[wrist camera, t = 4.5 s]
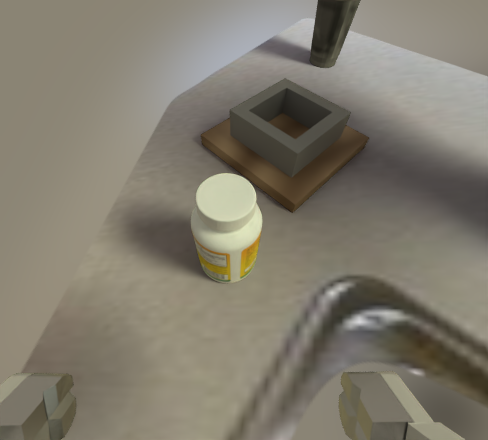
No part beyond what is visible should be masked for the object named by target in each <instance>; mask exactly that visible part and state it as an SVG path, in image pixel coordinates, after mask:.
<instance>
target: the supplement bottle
mask: <svg viewBox="0 0 488 440" xmlns="http://www.w3.org/2000/svg"><path fill="white" fill-rule="evenodd" d="M195 200H196V206H195V208H194V210H193V212H192V215H191V229H192V233H193V237H194V241H195V245H196V248H197V252H198V256H199V259H200V263H201V266H202V268H203V270H204V272H205V273H206V274H207V275H208V276H209V277H210V278H212V279H213V280H215V281H218V282H221V283H234V282H237V281H240V280H242V279H244V278H245V277H246V276H247V275H248V274H249V273H250V272H251V271H252V269H253V267H254V265H255V262H256V257H257V251H258V246H259V240H260V235H261V229H262V214H261V211H260V209H259V207H258V205H257V204H256V192H255V189H254V187H253V186H252V184H251V183H250V182H249V181H248V180H246V179H245V178H243V177H241V176H239V175H236V174H230V173H222V174H217V175H213V176H211V177H209V178H207V179H206V180H205V181H203V182H202V183H201V184H200V186H199V187H198V189H197V192H196V196H195Z"/></svg>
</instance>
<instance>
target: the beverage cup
mask: <svg viewBox="0 0 488 440" xmlns="http://www.w3.org/2000/svg"><path fill="white" fill-rule="evenodd" d="M359 3H360V0H318V5H317V12H316V18H315V25H314V32H313V39H312V46H311V57H310V62H311V63H312V64H313V65H315V66H317V67H322V68H329V67H332V66H334V65H335V62H336V60H337V58H338V55H339V54H340V51H341V48H342V46H343V43H344V41H345V38H346V36H347V33H348V31H349V28H350V26H351V23H352V20H353V18H354V15H355V13H356V10H357V8H358V5H359Z"/></svg>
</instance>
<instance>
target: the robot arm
mask: <svg viewBox="0 0 488 440" xmlns="http://www.w3.org/2000/svg"><path fill="white" fill-rule="evenodd" d="M73 385H74V384H73V379H72V375H69V374H54V373H34V374H31V373H16V374H14V375H12V376H10V377H9V378H7V379H6V380H5V381H4V382H3V383H2V384H1V385H0V440H61V439H62V438H64V437H65V435H66V433H67V432H68V430H69V429H70V427H71V425H72V422H73V419H74V416H75V414H76V398H75V396H74V395H73V394H72V393H71V392H70V389H71V388H72V387H73ZM341 385H342V387H343V389H344V391H343V392H342V393H341V394H340V395H339V412H340V418H341V422H342V426H343V428H344V431H345V433H346V435H347V436H348V437H349V438H351V439H352V440H465V439H464V438H462V437H461V436H459V435H457V434H456V433H455V432H453V431H452V430H450V429H449V428H447V427H446V426H444V425H443V424H441V423H434V422H433V420H432V419H431V418H430V416H429V415H428V414H427V413H426V411H425V410H424V409H423V407H422V406H421V405H420V403H419V402H418V401H417V399H416V398H415V397H414V396H413V394H412V393H411V392H410V390H409V389H408V388H407V386H406V385H405V384H404V383H403V381H402V380H401V379H400V377H399V376H398V375H397V374H396V373H394V372H393V371H381V372H343V374H342V376H341Z"/></svg>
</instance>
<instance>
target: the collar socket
mask: <svg viewBox="0 0 488 440" xmlns="http://www.w3.org/2000/svg"><path fill="white" fill-rule="evenodd" d="M350 113H351V112H349V111H347V110H345V109H343V108H341V107H339V106H337V105H335V104H334V103H332V102H330V101H328V100H326V99H324V98H322V97H320V96H318V95H316V94H314V93H312V92H310V91H309V90H307V89H305V88H303V87H301V86H299V85H297V84H295V83H293V82H291V81H289V80H287V79H283V80H281V81H280V82H278V83H276V84H274V85H273V86H271V87H269V88H267V89H266V90H264V91H262V92H260V93H259V94H257V95H255V96H253V97H252V98H250V99H248V100H246V101H245V102H243V103H241V104H239V105H238V106H236V107H234V108H232V109H231V110H230V118H228V119H227V120H225V121H223V122H222V123H220V124H218V125H217V126H215V127H213V128H211V129H210V130H208V131H206V132H205V133H203V134H201V139H202V144H203V145H204V146H205V147H207V148H208V149H209V150H210V151H212V152H213V153H214V154H216V155H217V156H218V157H220V158H221V159H222V160H224V161H225V162H226V163H228V164H229V165H230V166H232V167H233V168H234V169H235V170H237V171H238V172H239V173H241V174H242V175H243V176H245V177H246V178H247V179H249V180H250V181H251V182H253V183H254V184H255V185H257V186H258V187H259V188H260V189H262V190H263V191H264V192H266V193H267V194H268V195H270V196H271V197H272V198H274V199H275V200H276V201H278V202H279V203H280V204H282V205H283V206H284V207H285V208H287V209H288V210H289V211H291V212H292V213H293V212H294V211H295V210H296V209H297V208H298V207H299V206H300V205H302V204H303V203H304V202H305V201H306V200H307V199H308V198H309V197H310V196H311V195H313V194H314V193H315V192H316V191H317V190H318V189H319V188H320V187H321V186H322V185H323V184H325V183H326V182H327V181H328V180H329V179H330V178H331V177H332V176H333V175H334V174H336V173H337V172H338V171H339V170H340V169H341V168H342V167H343V166H344V165H345V164H346V163H348V162H349V161H350V160H351V159H352V158H353V157H354V156H355V155H356V154H357V153H359V152H360V151H361V150H362V149H363V148H364V147H365V145H366V143H367V141H368V139H369V137H367V136H365V135H363V134H361V133H360V132H358V131H356V130H354V129H352V128H350V127H348V126H347V125H346V123H347V121H348V118H349V116H350Z"/></svg>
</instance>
